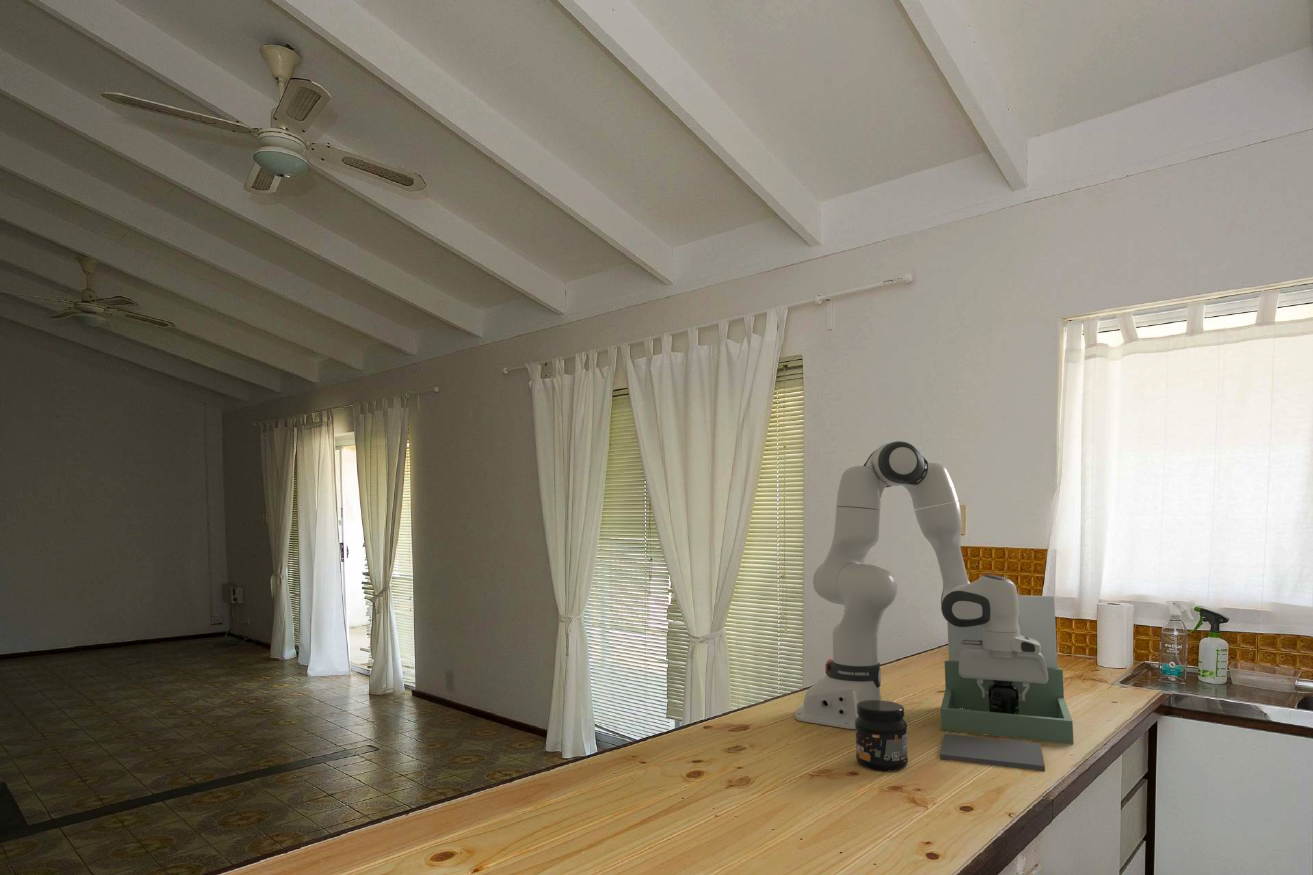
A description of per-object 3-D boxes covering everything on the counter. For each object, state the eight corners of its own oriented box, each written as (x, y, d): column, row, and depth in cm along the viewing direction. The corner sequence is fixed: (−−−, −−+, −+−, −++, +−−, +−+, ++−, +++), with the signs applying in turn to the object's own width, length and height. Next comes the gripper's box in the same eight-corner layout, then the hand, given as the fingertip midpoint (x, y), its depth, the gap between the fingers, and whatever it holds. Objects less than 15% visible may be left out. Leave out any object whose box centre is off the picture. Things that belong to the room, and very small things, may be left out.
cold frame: (941, 730, 186) (936, 603, 189) (946, 705, 209) (942, 592, 211) (1073, 743, 175) (1066, 608, 178) (1064, 716, 198) (1058, 596, 200)
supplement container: (849, 756, 167) (847, 699, 168) (897, 755, 168) (895, 698, 169) (865, 773, 157) (863, 712, 158) (916, 772, 158) (914, 711, 159)
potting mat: (940, 758, 165) (940, 753, 166) (944, 737, 180) (944, 733, 180) (1045, 770, 158) (1044, 765, 158) (1040, 748, 172) (1040, 743, 172)
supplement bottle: (1024, 727, 188) (1022, 676, 189) (996, 727, 188) (994, 676, 189) (1012, 719, 195) (1010, 670, 196) (985, 719, 195) (983, 670, 196)
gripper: (955, 641, 194) (957, 698, 193) (1047, 646, 186) (1050, 705, 185) (956, 637, 199) (958, 692, 198) (1045, 641, 192) (1048, 699, 190)
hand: (1003, 698), depth 191 cm, fingers open, 7 cm apart
